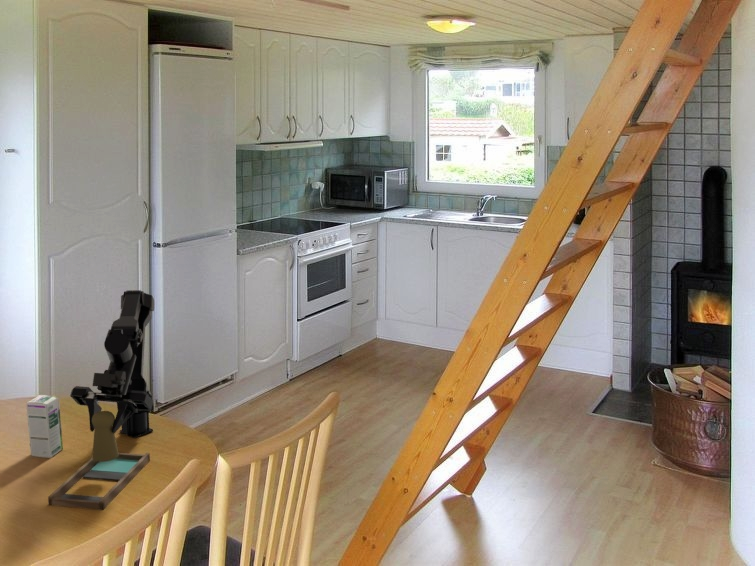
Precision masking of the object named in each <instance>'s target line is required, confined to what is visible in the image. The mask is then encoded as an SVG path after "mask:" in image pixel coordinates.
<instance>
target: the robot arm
mask: <svg viewBox="0 0 755 566" xmlns="http://www.w3.org/2000/svg"><path fill="white" fill-rule="evenodd" d="M120 310H121V311H120V314H119V318H117V319H116V320H113V321H112V324H111V327H110V329H108V331H107V334H106V337H105V340H104V342H103V345H104V347H103V348H104V349H105V351H106V353H107V356H108V359H109V365H108V368H107V369H105V370H104V371H103V373H101V372H93V379H92V384H91V385H92V387H96V389H97V390H98V391H100V392H94V391H93V389H91V387H89V386H80V385H79V386H78V385H76V386H74V387H73V388H72V389H71V392H70V395H69V396H70V397H71V399H73V401H74V402H75V403H76V404H77V405H80V406H84V407H85V406H87V410H88V416H89V417H88V418H89V430H90V432H94V430H95V427H94V426H93V424H92V417H93V415H94V414H95V413H97V412H100V411H103V409H102V407H101V405H100V402H105V403H107V402H108V403H116V406H117V407H116V408H117V413H116V416H115V421H114V424H113V428H112V433H114V434H116V433H117V431H118V430H119V429H120V428H121V429H120V430H119V433H121V434H123V435H125V436H128V437H130V438H133V439H135V438H139V437H141V436H144V435H147V434H149V433H153V432H154V429H153V428H151V427H150V415H149V414H151V412H153V411H154V410H155V403H154V398H153V397H154V396H153V395H152V393H151V390H149V386H148V384H147V381H146V379H145V378H144V364H145V362H144V360H145V343H146V342H145V341H146V339H145V337H146V327H147V326H148V324H149V323H150V322H151V320H152V318H153V312H155V299H154V297H153V295H152V294H149V293H147V292H146V293H145V292H144V290H141V289H139V290H137V289H135V290H133V289H132V290H131V289H130V290H126V291H125V290H124V291H123V294H122V295H120Z"/></svg>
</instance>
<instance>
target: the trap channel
mask: <svg viewBox="0 0 755 566" xmlns="http://www.w3.org/2000/svg"><path fill="white" fill-rule="evenodd" d="M118 453H119V455H118V457H117V459H130V460H139V461H138V462H137V463H136V464H135V465H134V466H133V467H132V468H131V469H130V470H129V471H128V472H127V473H116V472H104V471H91V469H92V468H93V467H94V466H95V465H96V464H97V463H98V462H100V461H95V460H94V459H93V458H92V457H91V458H90V459H89V460H88V461H86V462H85V463H84V464H83V465H82V466H81V467H79V468H78V469H77V470H76V471H75V472H74V473H72V475H71V476H70V477H68V478H67V479H66V480H65V481H64V482H63V483H62V484H61V485H59V487H57V488H56V489H55V490H54V491H53V492H52V493H51V494H50V495H48V496H47V501H48V506H55V507H66V508H78V509H89V510H99V511H100V510H101V511H104V510H105V508H106V507H107V506H108V505H110V503H111V502H112V501H113V500H114V499H115V498H116V497H117V496H118V495H119V494H120V493H121V492H122V491H123V489H124V488H126V487H127V485H128V484H130V482H132V480H133V479H134V478H135V477H136V476H137V475H138V474H139V473H140V472H141V471H142V470H143V469H144V468H145V466H146V465H147V464H148V463H149V462H150V461H151V457H150V453H148V452H146V453H145V454H141V453H139V454H138V453H129V452H128V453H125V452H118ZM81 479H88V480H89V479H90V480H91V479H92V480H101V481H114V482H117V483H115V484H114V485H113V486H112V488H111V489H109V491H108V492H107V493H106V494H104V495H103V496H96V495H95V496H94V495H83V494H72V493H67V492H68V491H70V489H72V488H73V487H74V486H75V485H76V484H77V483H79V481H80V480H81Z"/></svg>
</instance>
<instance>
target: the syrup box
mask: <svg viewBox="0 0 755 566" xmlns="http://www.w3.org/2000/svg"><path fill="white" fill-rule="evenodd" d="M25 405H26V416H27V427H28V428H27V429H28V435H29V436H28V437H29V448H30V455H31V457H36V458H37V457H38V458H47V459H48V458H49V459H51V458H53V456H55V455H57V454H58V453H59V452H60V451H62V450H64V445H63V432H62V420H61V409H60V397H59V396H56V395H49V394H38V395H37V396H36V397H34V398H32V399H31V400H29V401H27V402H26V404H25Z"/></svg>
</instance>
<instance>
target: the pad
mask: <svg viewBox="0 0 755 566" xmlns="http://www.w3.org/2000/svg"><path fill="white" fill-rule="evenodd" d="M138 461H139V460H130V459H117V458H115V459H114V460H111V461H104V462H101V461H100V462H98V463H97V464H96V465H95V466H94V467H93V468H92V469H91V471H104V472H116V473H127V472H128V471H129V470H130V469H131V468H132V467H133V466H134V465H135V464H136V463H137V462H138Z"/></svg>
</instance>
